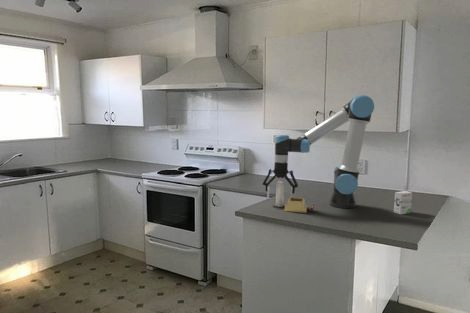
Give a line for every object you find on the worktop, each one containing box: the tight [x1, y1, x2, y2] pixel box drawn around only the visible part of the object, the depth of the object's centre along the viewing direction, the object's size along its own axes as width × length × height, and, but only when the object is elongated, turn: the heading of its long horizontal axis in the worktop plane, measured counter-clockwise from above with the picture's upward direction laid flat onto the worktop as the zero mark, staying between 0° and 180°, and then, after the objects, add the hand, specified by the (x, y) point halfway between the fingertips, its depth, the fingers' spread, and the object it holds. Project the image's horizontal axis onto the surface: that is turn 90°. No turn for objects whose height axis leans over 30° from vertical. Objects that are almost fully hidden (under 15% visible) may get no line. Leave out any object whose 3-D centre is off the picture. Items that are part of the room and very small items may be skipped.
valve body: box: [284, 196, 315, 214], centre depth 208 cm, size 16×9×6 cm, turn 76°
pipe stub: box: [275, 181, 285, 208], centre depth 216 cm, size 4×4×14 cm
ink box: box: [393, 190, 413, 215], centre depth 208 cm, size 9×5×12 cm, turn 116°
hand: (279, 198), depth 216 cm, fingers open, 13 cm apart
